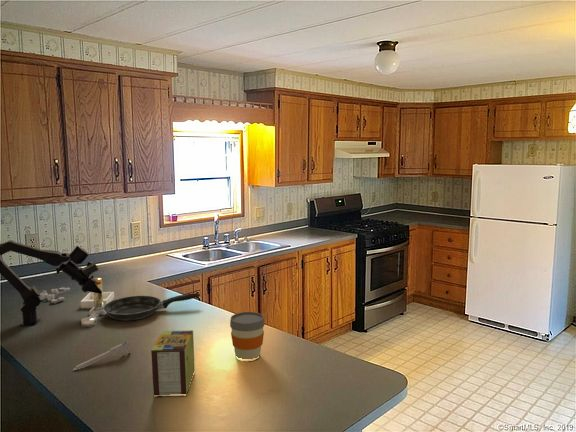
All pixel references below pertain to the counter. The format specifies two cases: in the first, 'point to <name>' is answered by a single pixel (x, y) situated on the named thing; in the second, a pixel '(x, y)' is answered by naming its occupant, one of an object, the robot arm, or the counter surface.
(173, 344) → the protein box
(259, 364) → the counter surface
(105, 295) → the parts tray
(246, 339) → the reusable coffee cup
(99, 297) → the pin
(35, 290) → the robot arm
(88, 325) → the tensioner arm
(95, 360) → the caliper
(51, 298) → the pulley system
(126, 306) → the frying pan
